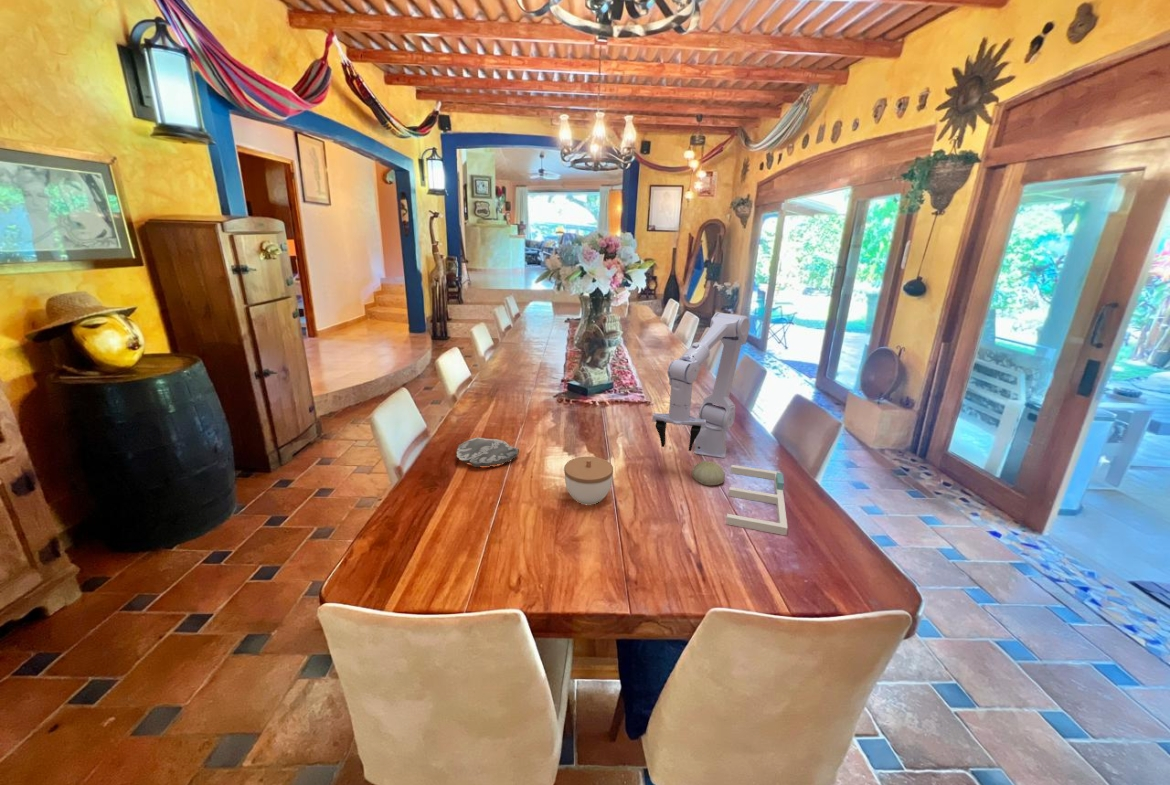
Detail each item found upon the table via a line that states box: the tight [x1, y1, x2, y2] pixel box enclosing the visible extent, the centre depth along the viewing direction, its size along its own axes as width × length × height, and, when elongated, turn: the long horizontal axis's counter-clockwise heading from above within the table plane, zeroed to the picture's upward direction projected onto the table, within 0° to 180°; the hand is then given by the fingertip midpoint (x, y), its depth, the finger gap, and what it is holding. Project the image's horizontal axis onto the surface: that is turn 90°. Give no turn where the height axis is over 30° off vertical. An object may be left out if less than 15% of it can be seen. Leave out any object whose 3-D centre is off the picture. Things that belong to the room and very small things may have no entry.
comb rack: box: [725, 464, 789, 536], centre depth 123 cm, size 14×28×4 cm, turn 161°
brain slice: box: [456, 437, 520, 468], centre depth 144 cm, size 20×17×3 cm
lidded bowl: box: [563, 456, 614, 506], centre depth 121 cm, size 13×13×11 cm
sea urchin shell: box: [691, 460, 726, 486], centre depth 133 cm, size 9×8×8 cm
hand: (676, 447), depth 133 cm, fingers open, 7 cm apart
